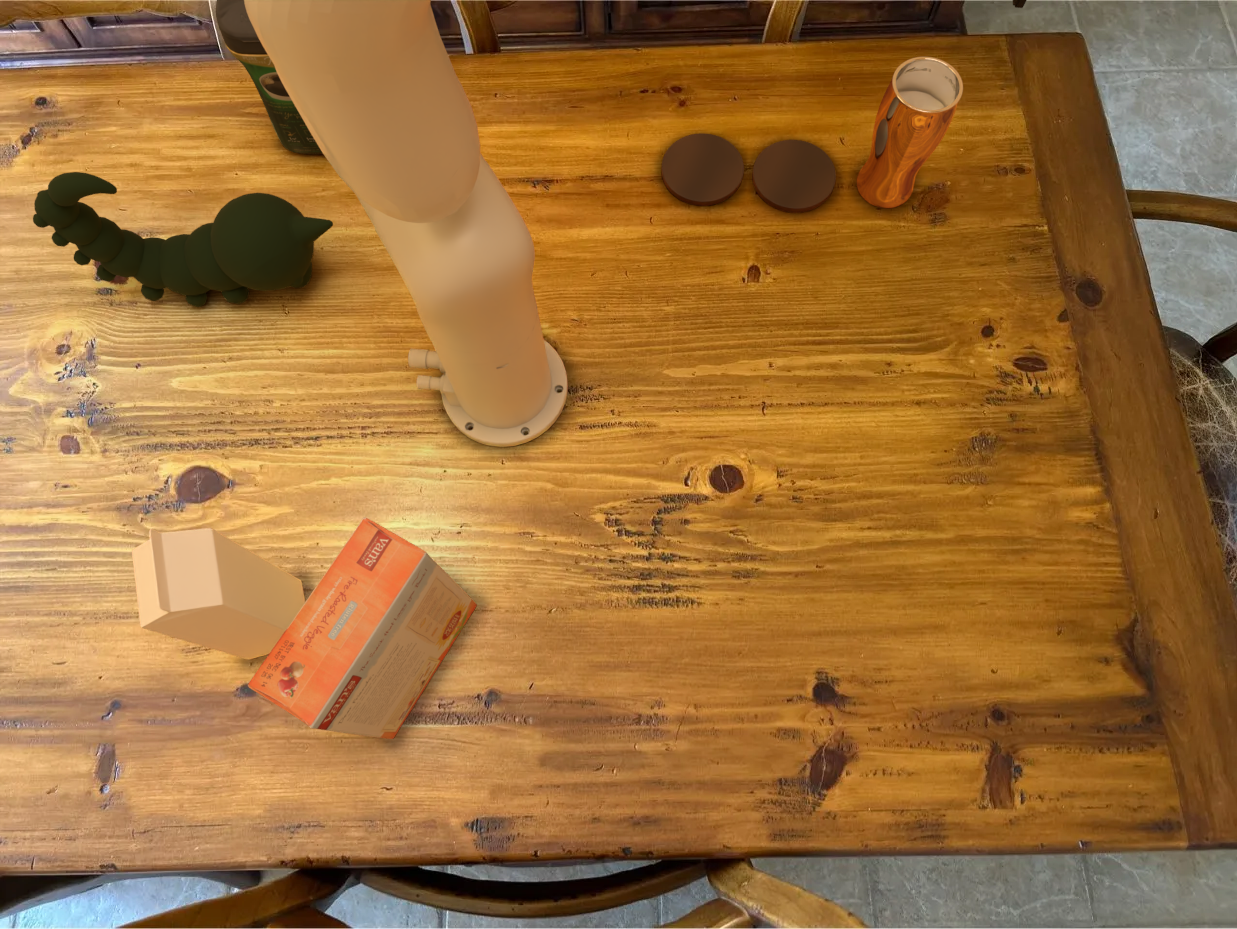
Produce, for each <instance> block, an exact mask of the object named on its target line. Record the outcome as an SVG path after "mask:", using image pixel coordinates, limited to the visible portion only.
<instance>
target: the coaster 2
mask: <svg viewBox="0 0 1237 929" xmlns="http://www.w3.org/2000/svg"><path fill="white" fill-rule="evenodd" d="M751 177H752V184H753V187H754V191H755V192H756V194H757V195H758V196H759V198H760V199H761V200H762V201H763V202H765V203H766V204H767V205H768V206H770V207H772V208H774V209H776V210H779V211H782V212H785V213H791V214H792V213H793V214H794V213H797V214H799V213H806V212H809V211H812V210H815V209H817V208H818V207H820V206H822V205H823V204H824V203H825V202H826V201H827V200H828V199H829V198H830V197H831V195H832V193H833V190H834V188H835V185H836V181H837V180H836V179H837V172H836V167H835V164H834V163H833V161H832V159H831V157H830V155H829V154H827V153H826V152H825V151H824V150H823V149H822V148H821V147H819V146H817V145H815V144H813V143H811V142H808V141H805V140H801V139H784V140H779V141H777V142H774V143H771V144H770V145H768V146H766V147H765V148H764V149H763V150H762V151H761V152H760V153H759V154H758V155H757V157H756V159H755V161H754V163H753V166H752V174H751Z"/></svg>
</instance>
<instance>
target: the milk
mask: <svg viewBox="0 0 1237 929" xmlns="http://www.w3.org/2000/svg"><path fill="white" fill-rule="evenodd" d="M148 536H149V539H147V540H146V541H143V542H142V543H140V544H139V545H137V546H136V547H135V548H134V547H133V549H132V550H131V557H132V567H133V575H134V584H135V591H136V592H135V594H136V601H137V609H138V610H137V611H138V620H139V627H140V628H141V629H143V630H146V631H150V632H153V633H157V634H161V635H164V636H167V637H169V638H174V639H177V640H181V641H184V642H187V643H191V644H194V645H198V646H201V647H204V648H206V649H207V648H208V649H211V650H214V651H216V652H217V651H218V652H221V653H224V654H227V655H231V656H234V657H238V658H241V659H244V660H247V661H249V660H253V659H257V658H260V657H263V656H268V655H269V653H270V652H271V650H272V649H273V648H274V646H275V645H276V643H277V642H278V640H279V639H280V638H281V636H282V635H283V633H284V632H285V631H286V629H287V628H288V627H289V625H290V624H291V622H292V621H293V620H294V618H295V617H296V615H297V614H298V612H299V611H300V609H301V608H302V606H303V605H304V603H305V602H306V598H305V592H304V588H303V582H302V580H301V579H300V578H298V577H296V576H295V575H293V574H291V573H289V572H287V571H286V570H284V569H283V568H281V567H279V566H277V565H276V564H274V563H272V562H271V561H269V560H267V559H265V558H263V557H262V556H261V555H258V554H257V553H255V552H253V551H252V550H250V549H249V548H246V547H245V546H243V545H241V543H240V544H239V543H238V542H236V541H235V540H232V539H231V538H229V536H228V537H227V535H224V534H222V533H221V532H220V531H218V530H216V529H214V528H213V527H205V528H195V529H185V530H176V531H165V532H161V531H158V530H156V529H154V528H149V530H148Z"/></svg>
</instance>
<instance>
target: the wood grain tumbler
mask: <svg viewBox="0 0 1237 929" xmlns="http://www.w3.org/2000/svg"><path fill="white" fill-rule="evenodd" d="M963 92H964V83H963V79H962V77H961V75H960V73H959V72H958V71H957V69H956V68H954V67H953V66H952V65H951V64H950V63H948V62H947V61H944V60H942V59H939V58H937V57H934V56H933V57H932V56H917V57H912V58H909V59H907V60H905V61H904V62H901V64H900V65H898V66H897V68H896V69H895V71H894V73H893V75H892V78H891V80H890V82H889V83H888V86H887V88H886V90H885V92H884V94H883V96H882V98H881V101H880V104H879V106H878V109H877V112H876V115H875V120H874V125H873V130H872V138H871V148H870V153H869V156H868V158H867V160H866V162H865V163H864V165H863V166H862V167H861V168H860V170H859V171H858V174H857V177H856V188H857V191H858V193H859V195H860V196H861V198H862V199H863V200H864V201H866V203H868V204H870V205H872V206H874V207H877V208H881V209H882V208H883V209H893V208H896V207H899V206H901V205H903V204H904V203H906V202H907V201H908V200H909V199H910V197H911V196H912V193H913V192H914V186H915V181H916V177H917V175H918V172H919V170H921V168H922V167H923V165H924V164H925V163H926V162H927V160H928V159H929V158H930V157H931V156H932V155H933V153H934V152H935V150H936V149H937V148H938V146H939V145H940V143H941V142H942V140H943V138H944V137H945V135H946V134H947V131H948V130H949V127H950V125H951V123H952V121H953V118H954V116H955V114H956V111H957V108H958V105H959V102H960V100H961V98H962V96H963Z"/></svg>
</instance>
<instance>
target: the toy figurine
mask: <svg viewBox="0 0 1237 929" xmlns="http://www.w3.org/2000/svg"><path fill="white" fill-rule="evenodd" d="M117 192H118V188H117V187H116V185H115V184H114V183H111V182H109V181H107V179H103V178H102V177H99V176H97V175H94V174H91V173H88V172H80V171H73V172H63V173H61V174H58V175H56V176H55V177H53V178H52V179H51V180H49V183H48V184H47V189H44V190H39V191H38V192H37V193H36V194H37V195H36V198H35V199H34V211H35V213H34V214H33V216H32V222H33V224H34V225H35V226H36V227H37V228H41V229H43V228H48V227H52V228H53V230H54V232H53V233H52V235H51V241H52V243H53V244H54V245H55V246H57V247H61V248H62V247H63V248H64V247H66V246H68V245H69V244H72V245H75V246H76V247H77V250H75V251H74V254H73V261H74V262H75V263H76V264H77V265H79V266H86V265H89V264H90V263H91V260H92V261H95V262H98V263H100V264H99V265H98V267H97V268H96V277H98V278H99V280H101V281H102V282H103V281H104V282H112V281H114V280H115V279H116V277H121V278H134V279H135V280H136V281H137V282H138V283H140V284H141V289H140V293H141V295H142V296H143V297H144V299H147V300H148V301H150V302H151V301H152V302H156V301H159V300H160V299H163V297H164V294H165V289H168V290H170V292H174V293H176V294H179V295H182V296H185V301H186V302H187V304H188V305H190V306H193V307H196V308H200V307H203V306H205V304H206V303H207V300H208V297H207V293H208V292H210V291H217V292H220V294H221V295H222V297H223V298H224V300H225V301H226V302H227V303H231V304H236V305H240V304H243V303H244V302H246V301H247V300H248V299H249V295H250V290H254V291H260V292H273V291H279V290H280V291H281V290H285V289H287V288H289V287H291V288H294V289H301V288H304V287H306V286H307V285H308V284H309V283H310V281H311V278H312V276H313V275H312V274H313V262H312V261H313V257H314V253H315V241H317V240H318V239H319V238H320V237H321V236H323V235H324V234H325V233H326V232H328V231H329V230H331V228H332V227H333V226H334V223H333V221H332V220H331V219H326V218H318V217H311V216H304V214H303V213H302V212H301V211H300V210H299V209H298V208H297V207H296V206H295V205H293V204H292V202H291V203H290V202H289V201H288V200H286V199H284V198H282V197H280V196H277V195H275V194H271V193H264V192H252V193H246V194H242V195H240V196H238V197H235V198H232V199H230V200H229V201H228V202H227V203H226V204H224V205H223V206H222V208H220V210H219V211H218V213H217V214H216V216H215V217H214V219H213V222H207V223H204V224H201V225H200V226H198V227H196V228H195V229H194V230H193V231H191V232H190V233H189V234H188V233H182V234H176V235H172V236H169V237H168V238H166V239H165V238H163V237H157V236H156V237H154V236H151V237H145V238H143V237H142V236H141V235H139V234H137V233H136V232H134V231H132V230H128V229H125V228H124V229H123V228H121V227H120V226H119V225H118V224H117V223H116V222H114V221H113V220H111V219H109V218H107V217H104V216H100V215H99V214H98V213H97V211H96V210H95V209H94V208H93V207H92V206H90V205H88V203H85V202H82V201H80V200H81V199H83V198H86V197H89V196H93V195H98V194H99V195H100V194H102V195H103V194H104V195H115V194H117Z"/></svg>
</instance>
